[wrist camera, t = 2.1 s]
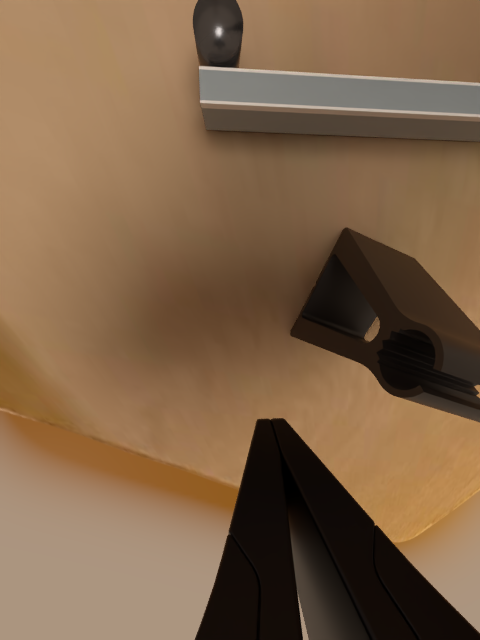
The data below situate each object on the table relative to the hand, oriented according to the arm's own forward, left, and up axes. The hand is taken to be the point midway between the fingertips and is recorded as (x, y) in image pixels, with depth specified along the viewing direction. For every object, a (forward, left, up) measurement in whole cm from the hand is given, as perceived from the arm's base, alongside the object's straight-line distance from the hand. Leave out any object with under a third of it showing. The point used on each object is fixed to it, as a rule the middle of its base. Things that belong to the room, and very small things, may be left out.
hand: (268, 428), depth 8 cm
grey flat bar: (-7, -11, -12) cm, 18 cm away
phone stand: (-8, 0, -13) cm, 16 cm away
